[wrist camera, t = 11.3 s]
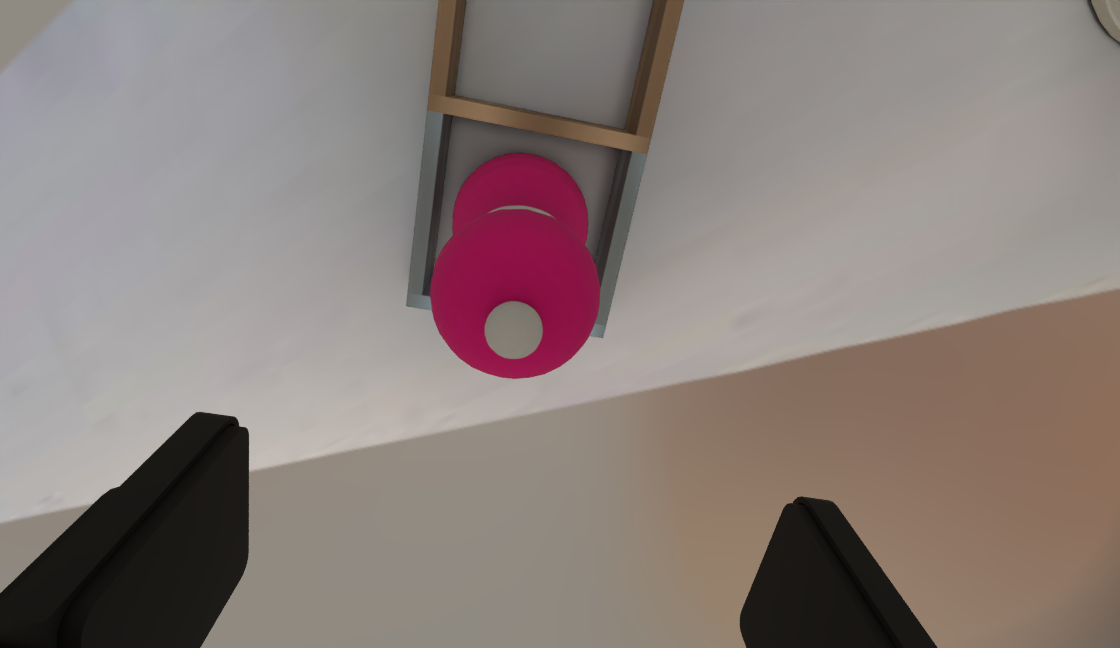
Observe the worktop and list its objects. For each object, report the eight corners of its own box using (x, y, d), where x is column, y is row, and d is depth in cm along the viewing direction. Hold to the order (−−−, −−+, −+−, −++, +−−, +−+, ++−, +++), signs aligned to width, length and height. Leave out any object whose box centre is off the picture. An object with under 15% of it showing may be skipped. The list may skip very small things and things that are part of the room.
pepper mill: (454, 255, 37) (378, 431, 18) (469, 134, 34) (397, 197, 16) (569, 274, 38) (607, 460, 19) (592, 157, 35) (662, 242, 17)
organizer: (687, -80, 31) (708, -102, 27) (596, 313, 39) (603, 338, 35) (466, -135, 29) (456, -166, 26) (418, 283, 37) (406, 306, 34)
